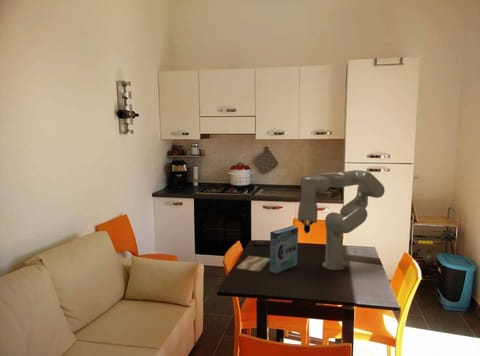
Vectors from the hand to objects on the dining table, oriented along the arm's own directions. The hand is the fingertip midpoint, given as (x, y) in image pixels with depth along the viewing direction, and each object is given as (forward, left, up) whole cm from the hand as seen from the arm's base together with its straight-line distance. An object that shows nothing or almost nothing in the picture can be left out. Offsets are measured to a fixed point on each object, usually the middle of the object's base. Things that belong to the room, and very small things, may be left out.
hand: (306, 232), depth 203 cm
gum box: (+13, 0, -23) cm, 26 cm away
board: (+31, 0, -23) cm, 38 cm away
